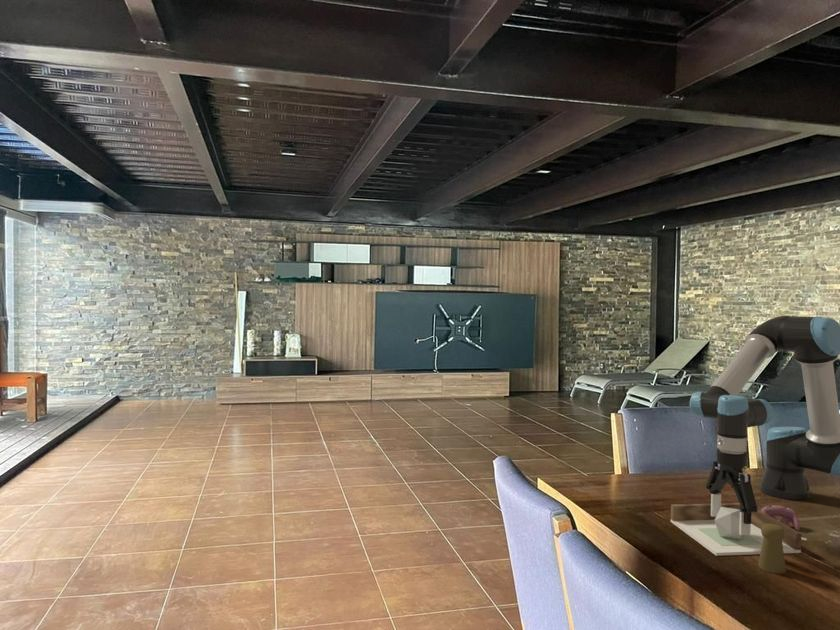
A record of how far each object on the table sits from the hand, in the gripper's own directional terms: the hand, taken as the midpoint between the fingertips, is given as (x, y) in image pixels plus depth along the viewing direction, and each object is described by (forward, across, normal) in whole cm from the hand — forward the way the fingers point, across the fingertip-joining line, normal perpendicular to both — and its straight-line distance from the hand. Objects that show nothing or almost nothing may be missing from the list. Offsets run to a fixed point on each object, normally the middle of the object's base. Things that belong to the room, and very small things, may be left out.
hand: (729, 525), depth 171 cm
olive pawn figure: (+4, +18, 0) cm, 19 cm away
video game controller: (+4, -8, +21) cm, 23 cm away
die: (+3, 0, 0) cm, 3 cm away
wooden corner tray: (+4, -2, +2) cm, 5 cm away
